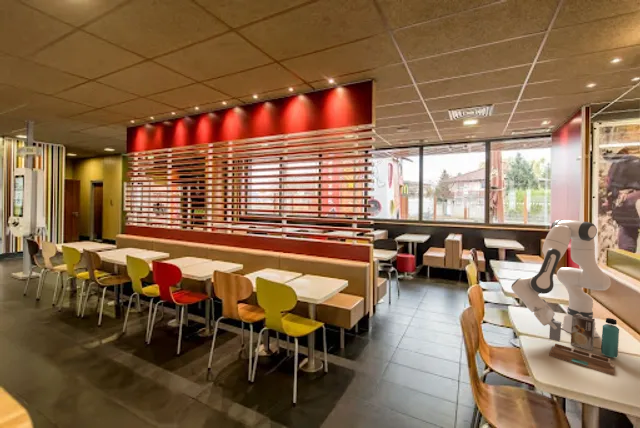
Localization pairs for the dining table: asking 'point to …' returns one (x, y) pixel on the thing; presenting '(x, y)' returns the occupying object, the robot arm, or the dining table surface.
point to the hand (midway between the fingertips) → (556, 327)
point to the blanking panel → (555, 331)
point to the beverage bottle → (610, 338)
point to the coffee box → (582, 332)
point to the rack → (582, 358)
